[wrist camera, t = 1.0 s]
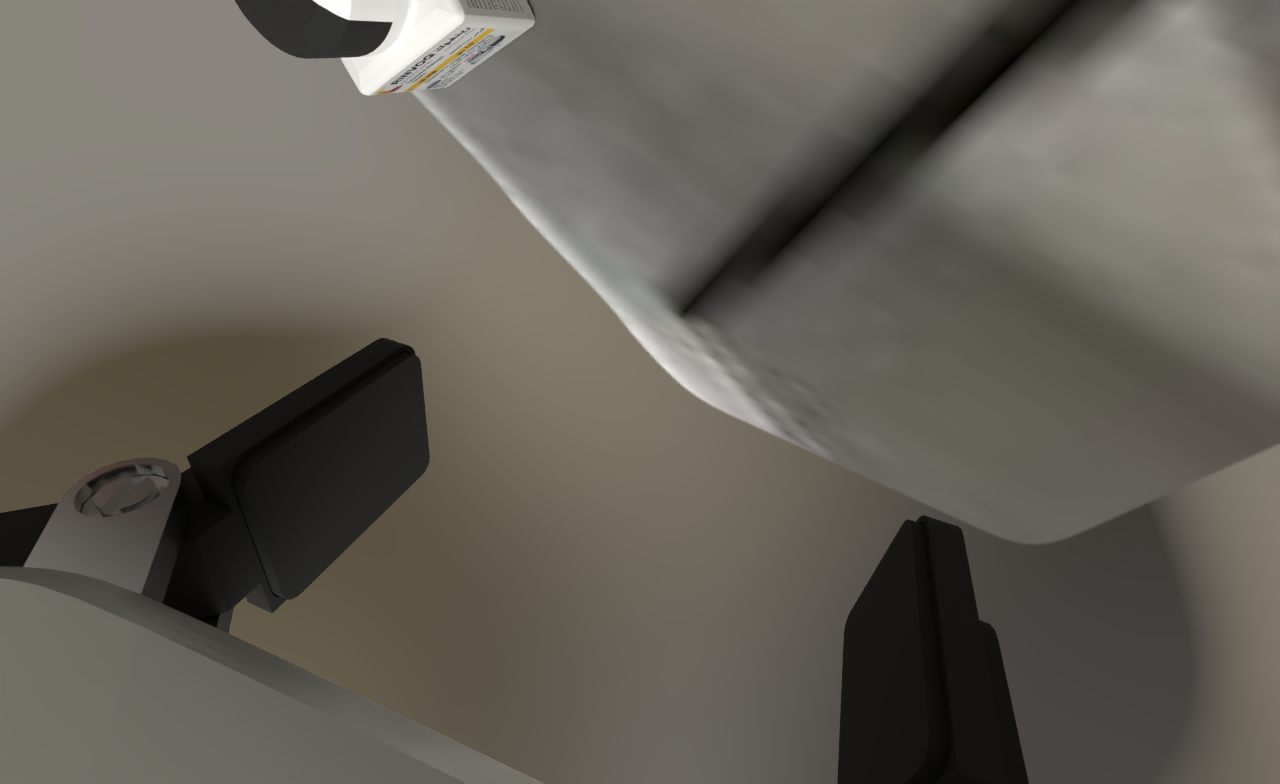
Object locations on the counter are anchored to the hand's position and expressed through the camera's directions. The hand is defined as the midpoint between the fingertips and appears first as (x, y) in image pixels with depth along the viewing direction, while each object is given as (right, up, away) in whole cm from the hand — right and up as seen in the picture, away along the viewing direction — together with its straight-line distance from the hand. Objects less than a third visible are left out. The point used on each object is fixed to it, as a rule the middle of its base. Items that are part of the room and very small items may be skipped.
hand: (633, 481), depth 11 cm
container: (-10, +25, +22) cm, 35 cm away
